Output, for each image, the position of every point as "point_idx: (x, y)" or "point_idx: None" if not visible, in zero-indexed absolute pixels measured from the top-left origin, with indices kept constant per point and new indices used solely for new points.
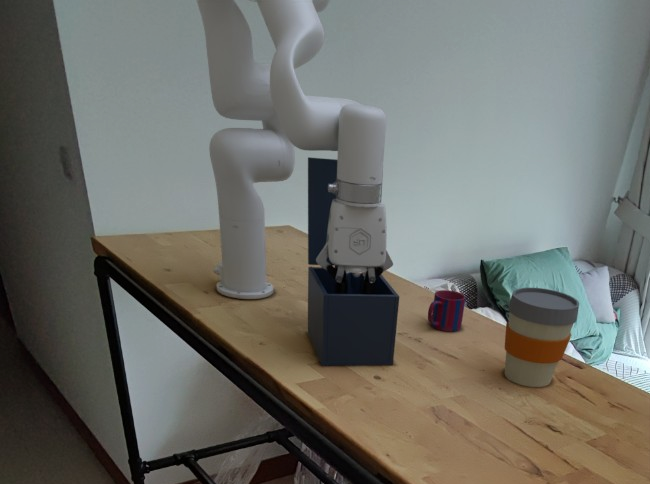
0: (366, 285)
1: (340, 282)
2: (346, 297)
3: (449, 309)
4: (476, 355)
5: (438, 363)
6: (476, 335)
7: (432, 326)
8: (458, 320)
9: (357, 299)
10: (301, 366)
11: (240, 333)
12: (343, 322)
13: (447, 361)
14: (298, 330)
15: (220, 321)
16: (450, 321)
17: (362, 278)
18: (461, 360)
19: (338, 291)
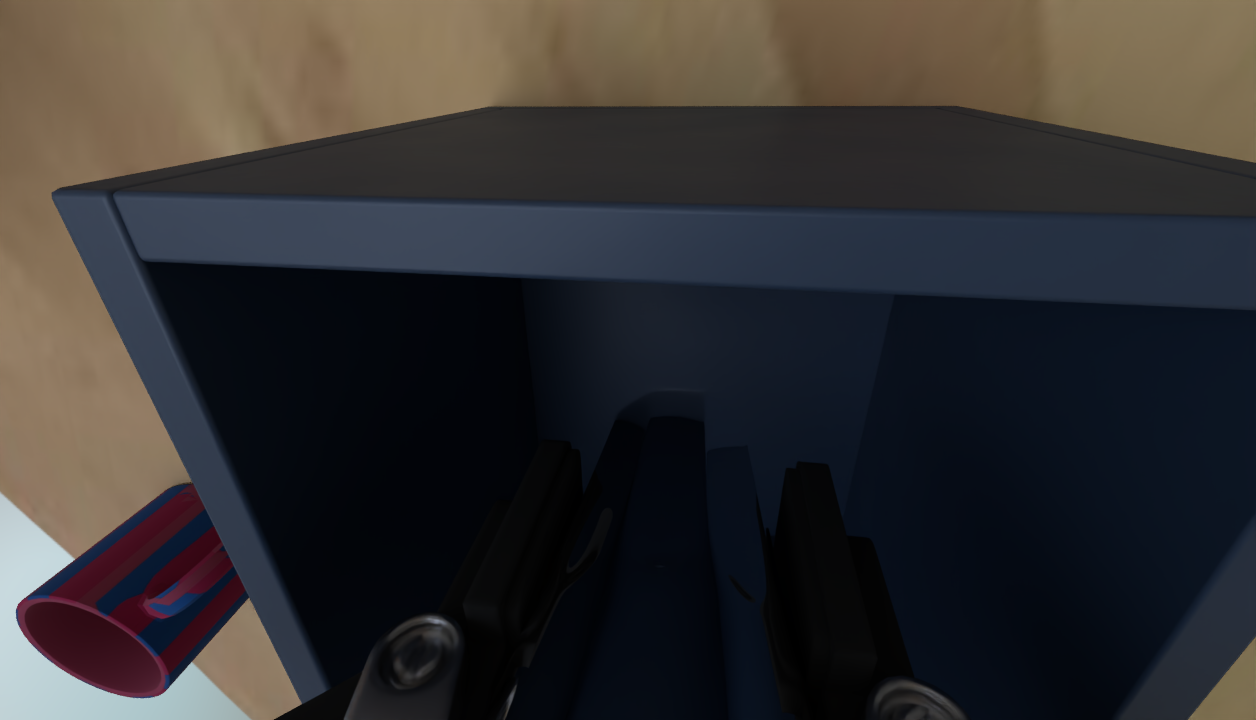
0: (517, 594)
1: (864, 686)
2: (990, 200)
3: (124, 562)
4: (49, 226)
5: (227, 124)
6: (89, 442)
7: None
8: (128, 519)
9: (759, 195)
10: (1110, 104)
11: None
12: (895, 142)
13: (181, 152)
14: None
15: (1231, 691)
16: (164, 516)
17: (556, 669)
18: (111, 163)
19: (861, 588)
